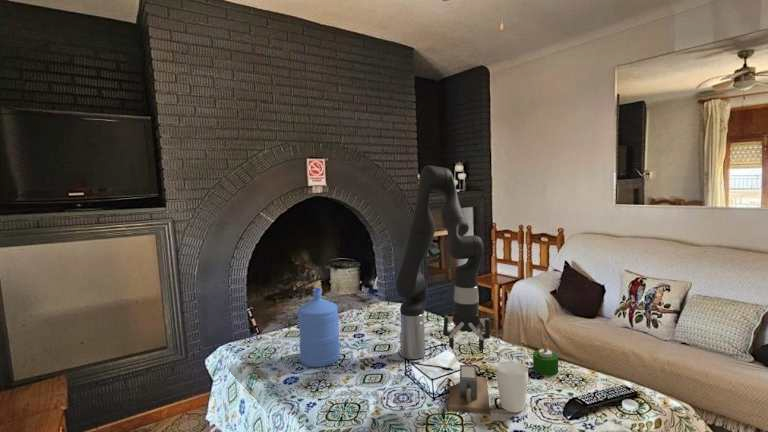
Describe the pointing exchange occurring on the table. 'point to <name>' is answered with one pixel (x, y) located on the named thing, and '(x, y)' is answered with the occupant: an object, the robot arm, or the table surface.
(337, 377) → the table surface
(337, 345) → the water jug
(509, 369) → the cup
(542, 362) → the candle
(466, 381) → the block
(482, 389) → the tray
